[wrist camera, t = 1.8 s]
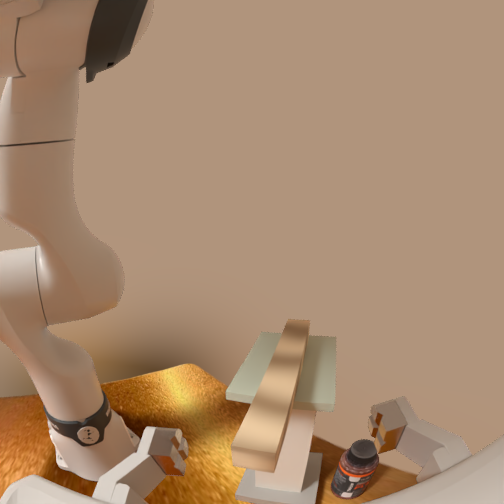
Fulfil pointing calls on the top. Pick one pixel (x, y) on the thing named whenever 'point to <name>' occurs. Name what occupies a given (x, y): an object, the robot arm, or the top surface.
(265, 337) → the stand
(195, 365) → the top surface
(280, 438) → the baton
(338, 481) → the supplement bottle
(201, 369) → the top surface
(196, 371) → the top surface
